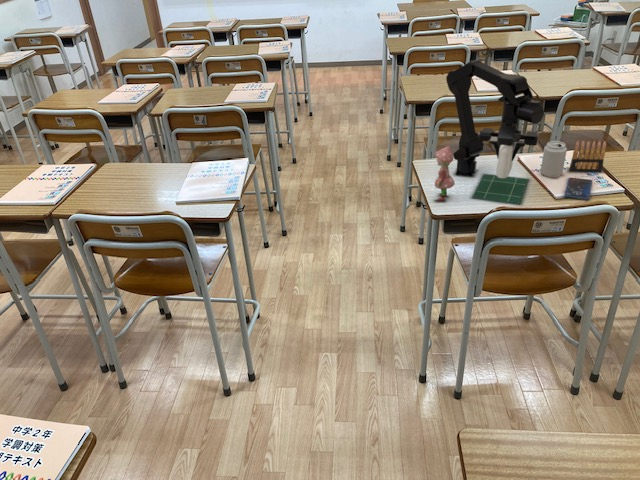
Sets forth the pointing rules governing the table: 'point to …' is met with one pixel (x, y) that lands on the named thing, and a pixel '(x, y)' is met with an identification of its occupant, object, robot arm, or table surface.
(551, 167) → the can
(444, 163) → the cartoon character
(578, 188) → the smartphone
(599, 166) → the ammunition clip
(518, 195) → the cutting mat
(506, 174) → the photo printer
